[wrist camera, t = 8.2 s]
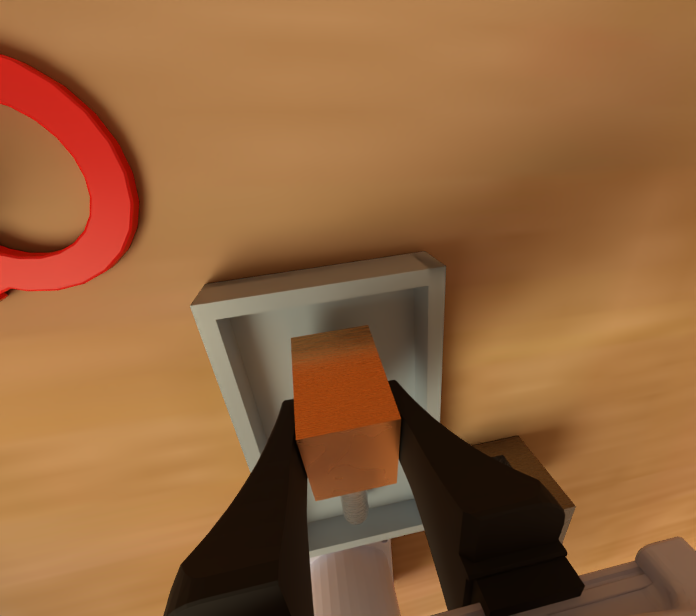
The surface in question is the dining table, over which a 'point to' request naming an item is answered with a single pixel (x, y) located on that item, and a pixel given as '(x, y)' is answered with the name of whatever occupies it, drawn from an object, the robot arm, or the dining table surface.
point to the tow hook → (100, 175)
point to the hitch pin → (344, 417)
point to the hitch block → (528, 470)
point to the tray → (317, 317)
